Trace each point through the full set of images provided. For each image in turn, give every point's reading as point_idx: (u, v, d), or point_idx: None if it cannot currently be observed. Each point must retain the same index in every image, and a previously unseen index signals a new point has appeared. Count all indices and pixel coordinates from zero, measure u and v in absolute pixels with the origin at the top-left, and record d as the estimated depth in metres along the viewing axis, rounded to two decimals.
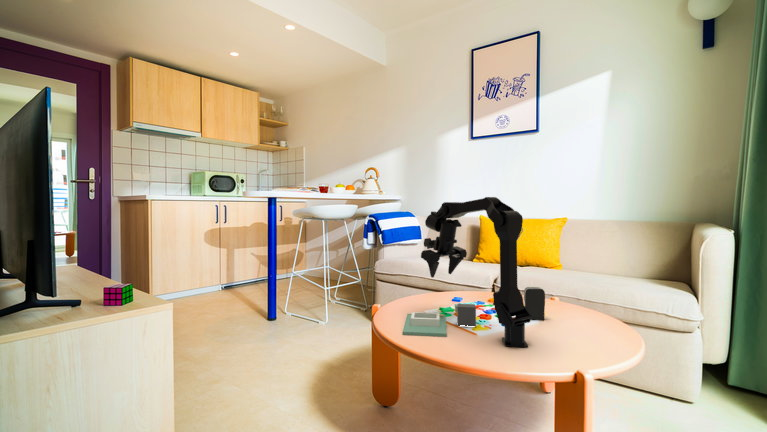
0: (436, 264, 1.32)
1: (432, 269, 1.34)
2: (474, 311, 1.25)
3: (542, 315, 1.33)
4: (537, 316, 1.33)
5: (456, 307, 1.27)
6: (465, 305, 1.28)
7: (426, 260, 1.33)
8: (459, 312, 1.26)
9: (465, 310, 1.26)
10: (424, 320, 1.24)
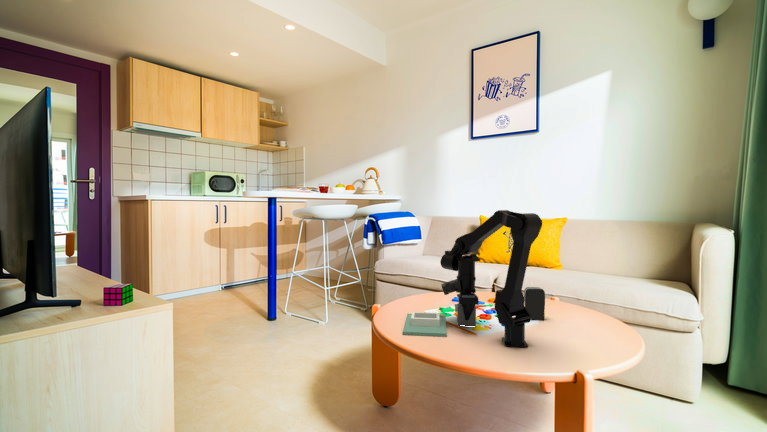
0: None
1: (469, 311, 1.24)
2: (474, 311, 1.25)
3: (542, 315, 1.33)
4: (537, 316, 1.33)
5: (456, 307, 1.27)
6: None
7: None
8: (459, 312, 1.26)
9: None
10: (424, 320, 1.24)
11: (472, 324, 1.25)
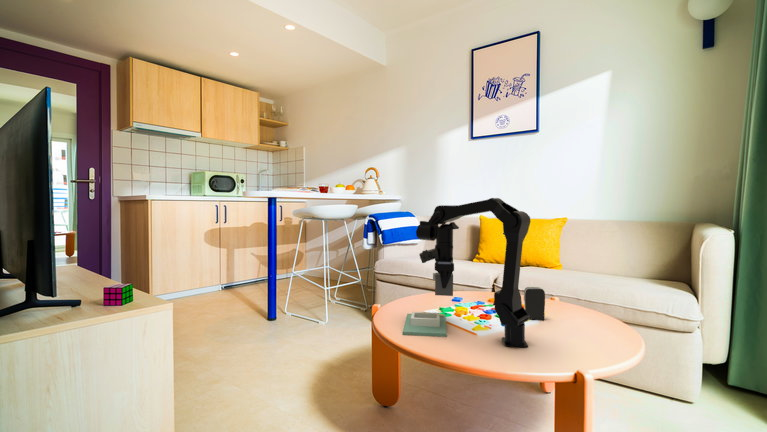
0: (452, 271, 1.23)
1: (446, 278, 1.24)
2: (451, 279, 1.25)
3: (542, 315, 1.33)
4: (537, 316, 1.33)
5: (434, 275, 1.27)
6: None
7: None
8: (436, 280, 1.26)
9: None
10: (424, 320, 1.24)
11: (449, 292, 1.25)
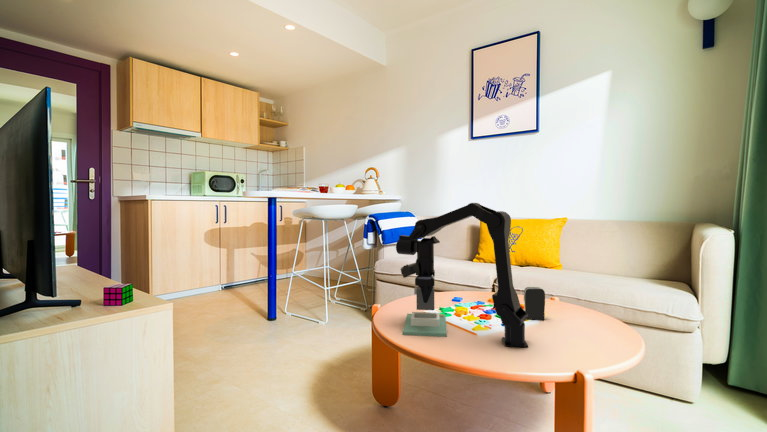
0: (433, 285, 1.23)
1: (427, 293, 1.24)
2: (432, 293, 1.25)
3: (542, 315, 1.33)
4: (537, 316, 1.33)
5: (415, 290, 1.27)
6: None
7: None
8: (418, 295, 1.26)
9: None
10: (424, 320, 1.24)
11: (431, 307, 1.25)
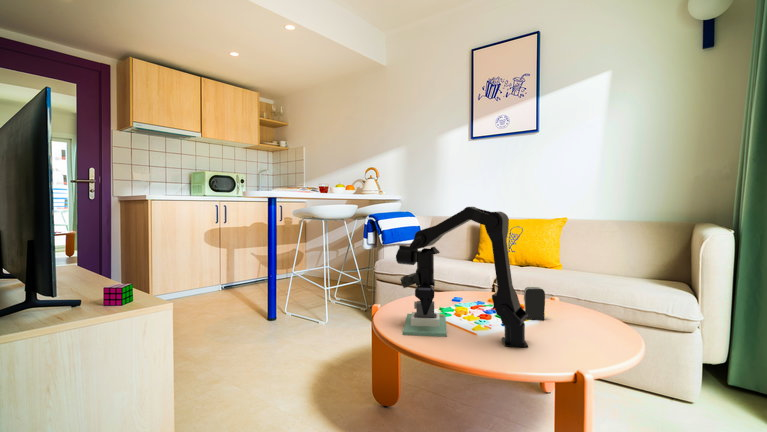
0: (433, 297, 1.21)
1: (427, 305, 1.22)
2: (432, 308, 1.25)
3: (542, 315, 1.33)
4: (537, 316, 1.33)
5: (415, 304, 1.27)
6: None
7: (422, 297, 1.20)
8: (418, 309, 1.26)
9: None
10: (424, 320, 1.24)
11: None
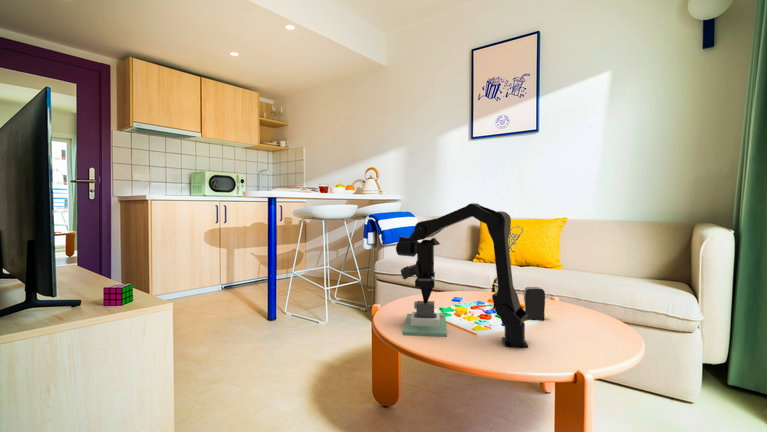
0: None
1: (427, 293, 1.26)
2: (432, 308, 1.25)
3: (542, 315, 1.33)
4: (537, 316, 1.33)
5: (415, 304, 1.27)
6: None
7: None
8: (418, 309, 1.26)
9: (423, 307, 1.26)
10: (424, 320, 1.24)
11: None
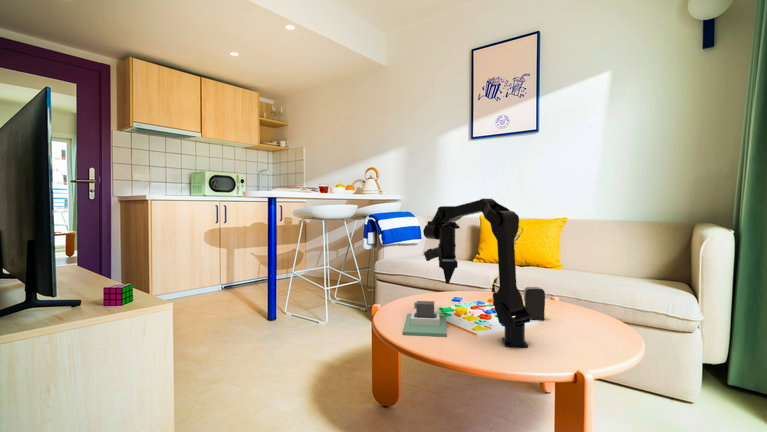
0: None
1: (449, 274, 1.33)
2: (432, 308, 1.25)
3: (542, 315, 1.33)
4: (537, 316, 1.33)
5: (415, 304, 1.27)
6: (424, 302, 1.28)
7: None
8: (418, 309, 1.26)
9: (423, 307, 1.26)
10: (424, 320, 1.24)
11: None
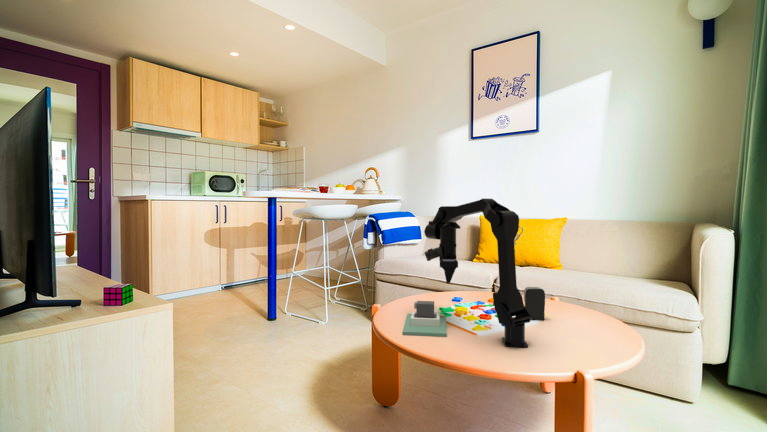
0: None
1: (450, 274, 1.34)
2: (432, 308, 1.25)
3: (542, 315, 1.33)
4: (537, 316, 1.33)
5: (415, 304, 1.27)
6: (424, 302, 1.28)
7: None
8: (418, 309, 1.26)
9: (423, 307, 1.26)
10: (424, 320, 1.24)
11: None
